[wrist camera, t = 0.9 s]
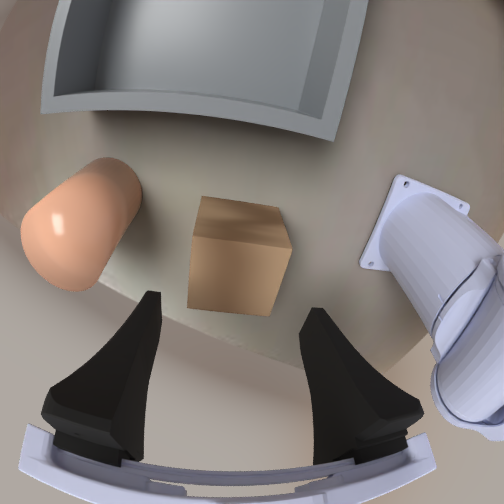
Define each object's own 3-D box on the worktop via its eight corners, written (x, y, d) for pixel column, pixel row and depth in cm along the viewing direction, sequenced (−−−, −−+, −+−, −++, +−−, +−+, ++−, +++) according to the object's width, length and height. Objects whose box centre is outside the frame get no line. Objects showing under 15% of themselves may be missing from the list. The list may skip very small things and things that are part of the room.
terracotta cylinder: (143, 159, 15) (95, 208, 9) (141, 228, 18) (108, 298, 12) (76, 156, 14) (12, 200, 9) (81, 221, 17) (34, 282, 11)
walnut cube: (278, 206, 18) (292, 249, 14) (261, 266, 21) (269, 316, 16) (202, 195, 17) (192, 235, 13) (195, 258, 20) (187, 308, 16)
